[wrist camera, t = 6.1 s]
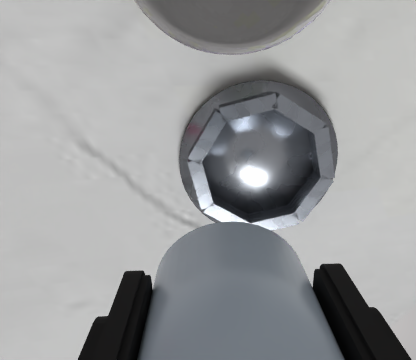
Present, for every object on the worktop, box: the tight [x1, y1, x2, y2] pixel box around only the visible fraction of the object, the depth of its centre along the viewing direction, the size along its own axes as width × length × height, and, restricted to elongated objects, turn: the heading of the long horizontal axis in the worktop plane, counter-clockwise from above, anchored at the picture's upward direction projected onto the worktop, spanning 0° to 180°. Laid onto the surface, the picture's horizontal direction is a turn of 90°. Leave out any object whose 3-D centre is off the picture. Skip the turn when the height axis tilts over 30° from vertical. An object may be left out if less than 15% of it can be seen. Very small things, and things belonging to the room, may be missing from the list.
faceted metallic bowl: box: [179, 80, 338, 231], centre depth 24 cm, size 12×12×2 cm
